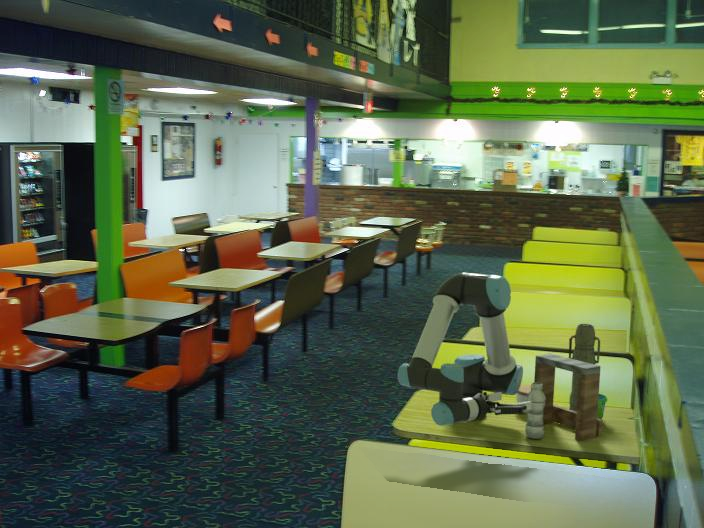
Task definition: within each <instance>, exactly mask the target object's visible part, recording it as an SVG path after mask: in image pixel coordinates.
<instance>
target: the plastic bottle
mask: <svg viewBox="0 0 704 528" xmlns="http://www.w3.org/2000/svg"><path fill="white" fill-rule="evenodd" d="M531 385H532V387H531V388H532V390H531V391H530V392H529V394H528V395H527V402H528V401H531V409H530V410H528V414H527V418H526V425H525V430H524V431H525V433H524V434H525V436H526V437H527V438H528V439H532V440H533V439H534V440H540V439H542V438H543V437H544V435H545V426H544V425H543V413H544V406H545V401H546V398H545V395H544V393H543V392H542V389H543V387H542V386H543V384H542V383H538V382H532V383H531Z"/></svg>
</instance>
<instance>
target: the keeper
mask: <svg viewBox="0 0 704 528" xmlns="http://www.w3.org/2000/svg"><path fill="white" fill-rule="evenodd" d="M534 360H535V363H534V365H535V366H534V382H538V383H542V384H543V386H542V387H543V389H542V392H543V393H544V395H545V398H546V401H545V406H544V413H543V426H544V425H549V424H553V423H555V422H556V424H558V423H560V424H559V425H561V424H562V426H564V425H565V426H564V427H567V426H568V428H570V427H571V428H570V429H573V430H574V429H575V432H574V433H575V434H574V440H576V441H580V442H585V441H588V440H592V439H596V438H597V437H598V438H599V437H602V436H603V428H604V427H603V423H604V419H603V418H602V419H598V418H597V413H598V398H599V394H600V393H599V392H600V380H601V368H602V367H601V365H598V364H595V365H594V364H590V363H586V362H582V361H578V360H574V359H570V358H569V357H565V356H562V355H557V354H555V353H545V354H538V355H535V359H534ZM556 368H557V369H560V370H564V371H568V372H571V373H573V372H575V373H579V382H578V398H577V412H576V411H573V410H570V409H569V408H565V407H563V406H559V405H556V404H554V399H555V397H554V396H555V382H556V381H555V380H556V379H555V377H556Z"/></svg>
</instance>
